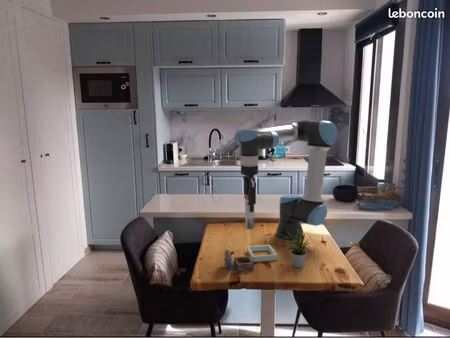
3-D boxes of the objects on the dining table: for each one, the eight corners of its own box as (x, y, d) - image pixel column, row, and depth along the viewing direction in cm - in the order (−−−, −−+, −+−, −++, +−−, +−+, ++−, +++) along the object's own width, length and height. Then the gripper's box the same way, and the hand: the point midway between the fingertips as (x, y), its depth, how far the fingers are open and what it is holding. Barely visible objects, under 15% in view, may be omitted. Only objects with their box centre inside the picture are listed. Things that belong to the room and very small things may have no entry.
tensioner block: (249, 263, 157) (249, 244, 155) (254, 274, 147) (255, 253, 145) (222, 266, 155) (222, 246, 153) (226, 276, 145) (226, 256, 143)
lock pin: (253, 225, 154) (253, 193, 151) (256, 228, 149) (256, 195, 146) (243, 226, 153) (243, 193, 150) (246, 229, 149) (245, 196, 146)
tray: (269, 252, 169) (269, 244, 168) (276, 262, 158) (277, 254, 157) (247, 254, 167) (247, 246, 166) (252, 264, 156) (252, 256, 155)
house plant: (279, 256, 164) (280, 224, 161) (308, 256, 164) (309, 224, 161) (283, 270, 150) (284, 236, 147) (314, 271, 150) (316, 236, 147)
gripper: (236, 161, 153) (237, 211, 158) (245, 169, 137) (246, 223, 141) (253, 161, 154) (253, 209, 159) (263, 168, 138) (263, 222, 143)
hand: (249, 216), depth 150 cm, fingers closed on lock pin, 4 cm apart
